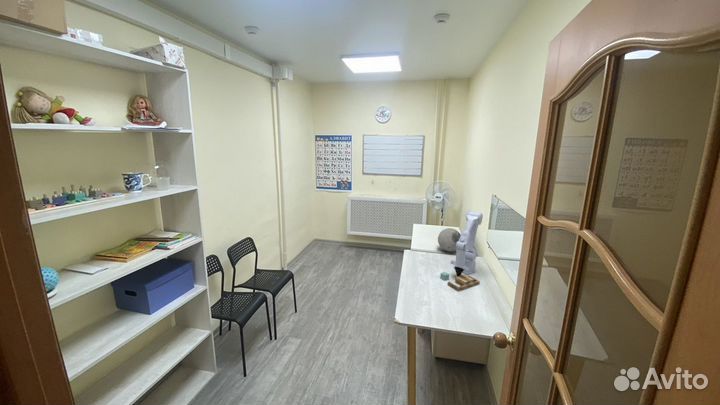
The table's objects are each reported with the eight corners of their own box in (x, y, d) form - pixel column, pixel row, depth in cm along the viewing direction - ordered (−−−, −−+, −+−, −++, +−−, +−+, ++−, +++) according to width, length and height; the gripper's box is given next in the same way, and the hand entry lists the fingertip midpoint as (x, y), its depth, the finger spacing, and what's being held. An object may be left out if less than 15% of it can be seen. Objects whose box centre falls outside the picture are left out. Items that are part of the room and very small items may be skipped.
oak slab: (463, 278, 189) (464, 274, 188) (473, 283, 182) (473, 279, 181) (455, 281, 185) (455, 277, 184) (464, 286, 178) (465, 282, 177)
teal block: (444, 277, 189) (444, 271, 189) (448, 279, 186) (449, 274, 185) (440, 278, 187) (440, 273, 187) (444, 280, 184) (445, 275, 183)
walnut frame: (468, 278, 188) (468, 275, 188) (479, 284, 180) (479, 281, 180) (447, 285, 179) (447, 282, 178) (458, 291, 171) (458, 288, 170)
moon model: (436, 253, 229) (438, 231, 225) (437, 245, 248) (438, 224, 244) (461, 256, 224) (464, 233, 220) (460, 248, 243) (462, 226, 238)
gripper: (448, 255, 189) (446, 273, 192) (464, 263, 176) (462, 282, 179) (455, 253, 192) (453, 271, 195) (472, 261, 180) (470, 280, 183)
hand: (458, 276), depth 187 cm, fingers closed
